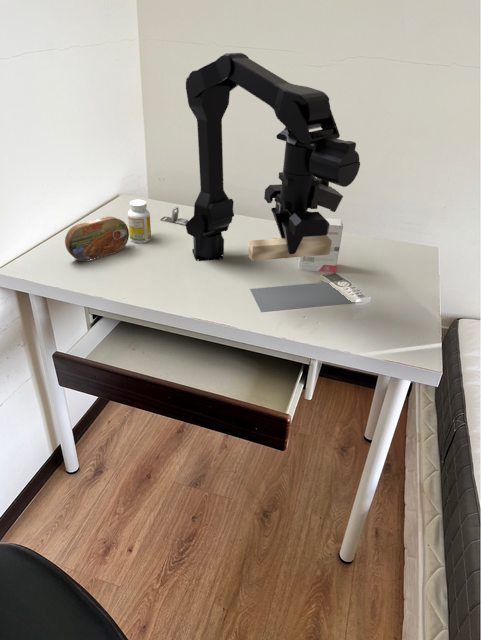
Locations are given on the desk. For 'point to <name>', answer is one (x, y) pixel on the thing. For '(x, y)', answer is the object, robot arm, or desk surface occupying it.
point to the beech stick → (280, 249)
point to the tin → (96, 238)
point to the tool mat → (297, 296)
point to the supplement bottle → (139, 222)
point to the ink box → (325, 261)
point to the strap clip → (175, 218)
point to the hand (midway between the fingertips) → (289, 250)
